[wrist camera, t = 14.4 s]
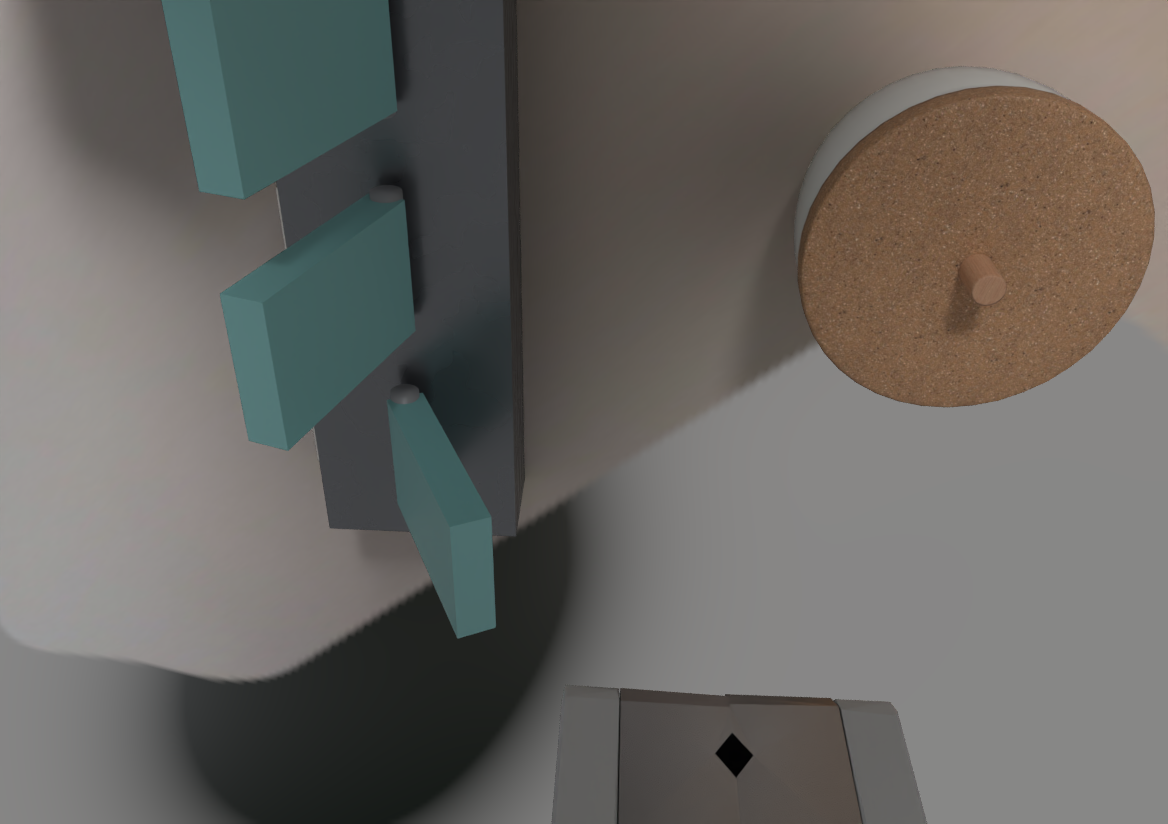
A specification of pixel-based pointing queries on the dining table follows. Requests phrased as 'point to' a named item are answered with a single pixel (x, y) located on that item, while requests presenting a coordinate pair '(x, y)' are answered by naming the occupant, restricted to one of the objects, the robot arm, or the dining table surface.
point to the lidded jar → (968, 236)
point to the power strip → (435, 259)
